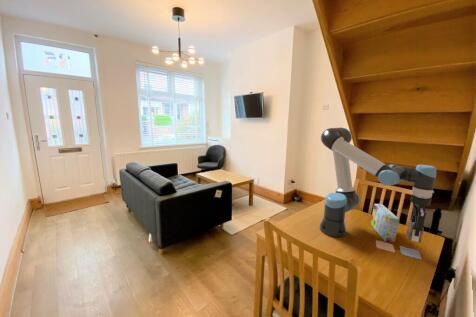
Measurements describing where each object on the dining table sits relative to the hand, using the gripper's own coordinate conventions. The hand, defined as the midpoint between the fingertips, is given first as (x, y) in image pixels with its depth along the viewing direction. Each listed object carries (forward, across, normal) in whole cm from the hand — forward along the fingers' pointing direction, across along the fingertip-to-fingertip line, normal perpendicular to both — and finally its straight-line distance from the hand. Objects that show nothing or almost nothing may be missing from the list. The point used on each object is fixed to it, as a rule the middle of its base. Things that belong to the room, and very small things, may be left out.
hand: (413, 238), depth 107 cm
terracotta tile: (+9, 0, +11) cm, 14 cm away
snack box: (+9, +16, +11) cm, 22 cm away
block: (0, 0, 0) cm, 0 cm away
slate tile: (+9, 0, 0) cm, 9 cm away
